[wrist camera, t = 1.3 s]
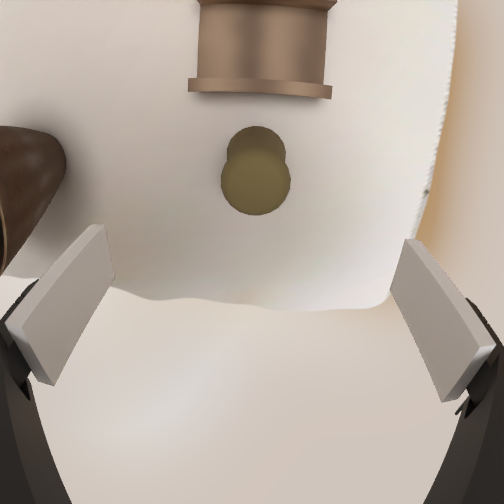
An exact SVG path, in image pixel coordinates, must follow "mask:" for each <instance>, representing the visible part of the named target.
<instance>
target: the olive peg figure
mask: <svg viewBox="0 0 504 504" xmlns="http://www.w3.org/2000/svg"><path fill="white" fill-rule="evenodd" d="M285 155H286V151H285V147H284V143H283V142H282V140H281V139H280V137H279V136H278V135H277V134H276V133H275V132H273V131H272V130H270V129H267V128H265V127H260V126H252V127H248V128H244V129H242V130H241V131H239V132H238V133H236V134H235V135H234V137H233V138H232V139H231V140H230V143H229V146H228V148H227V163H226V164H225V166H224V169H223V171H222V174H221V188H222V191H223V194H224V197H225V198H226V200H227V201H228V202H229V204H230V205H231V206H232V207H233V208H235V209H236V210H238V211H239V212H242V213H245V214H248V215H263V214H267V213H270V212H272V211H273V210H275V209H277V208H278V207H279V206H280V205H281V204H282V203H283V202H284V201H285V199H286V197H287V194H288V192H289V190H290V181H291V178H290V174H289V170H288V167H287V165H286V164H285Z"/></svg>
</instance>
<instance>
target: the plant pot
mask: <svg viewBox="0 0 504 504" xmlns="http://www.w3.org/2000/svg"><path fill="white" fill-rule="evenodd" d="M65 167H66V162H65V155H64V152H63V149H62V147H61V145H60V144H59V142H58V141H57V140H56V139H55V138H54V137H52V136H51V135H48V134H46V133H42V132H39V131H35V130H31V129H26V128H20V127H12V126H0V276H1V275H2V273H3V272H4V270H5V269H6V268H7V266H8V265H9V263H10V262H11V261H12V259H13V258H14V256H15V255H16V254H17V252H18V251H19V250H20V248H21V247H22V245H23V244H24V243H25V241H26V240H27V238H28V237H29V235H30V234H31V232H32V231H33V229H34V228H35V226H36V225H37V223H38V222H39V220H40V219H41V217H42V215H43V214H44V212H45V210H46V209H47V207H48V205H49V204H50V202H51V200H52V198H53V197H54V195H55V193H56V191H57V189H58V187H59V185H60V183H61V181H62V179H63V176H64V173H65Z"/></svg>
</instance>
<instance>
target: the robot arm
mask: <svg viewBox="0 0 504 504" xmlns="http://www.w3.org/2000/svg"><path fill="white" fill-rule="evenodd" d="M114 278H115V274H114V269H113V265H112V260H111V255H110V250H109V245H108V240H107V234H106V228H105V225H91V224H90V225H89V226H88V227H87V228H86V229H85V230H84V231H83V232H82V234H81V235H80V236H79V237H78V238H77V239H76V240H75V241H74V242H73V243H72V244H71V245H70V246H69V247H68V248H67V249H66V250H65V251H64V252H63V254H62V255H61V256H60V257H59V258H58V259H57V260H56V261H55V262H54V263H53V265H52V266H51V267H50V268H49V269H48V270H47V271H46V273H45V274H44V275H43V276H42V277H41V278H40V279H37V280H36V281H35V282H33V283H32V284H30V285H29V286H28V287H27V288H26V289H25V290H24V291H23V292H22V294H21V296H20V297H18V299H17V300H16V301H15V303H13V305H12V306H11V307H10V308H9V310H8V311H7V312H6V314H5V315H4V316H3V317H2V319H1V320H0V504H72V503H71V501H70V498H69V496H68V494H67V492H66V490H65V487H64V485H63V483H62V481H61V478H60V475H59V473H58V470H57V468H56V465H55V463H54V460H53V457H52V455H51V452H50V449H49V446H48V443H47V440H46V437H45V434H44V431H43V428H42V425H41V421H40V417H39V414H38V411H37V407H36V403H35V399H34V395H33V391H32V386H31V383H30V381H29V379H28V378H27V377H28V375H29V373H30V372H31V371H32V373H33V374H34V376H35V377H36V379H37V380H38V381H39V382H42V383H45V384H49V385H52V386H55V384H56V382H57V379H58V378H59V376H60V374H61V372H62V370H63V367H64V366H65V364H66V362H67V360H68V358H69V356H70V354H71V352H72V350H73V349H74V347H75V345H76V343H77V341H78V340H79V338H80V336H81V333H82V332H83V330H84V329H85V327H86V325H87V323H88V322H89V320H90V318H91V316H92V315H93V313H94V311H95V310H96V308H97V306H98V305H99V303H100V301H101V299H102V298H103V296H104V294H105V293H106V291H107V290H108V288H109V286H110V285H111V283H112V282H113V280H114ZM390 291H391V293H392V295H393V297H394V299H395V301H396V303H397V305H398V307H399V309H400V311H401V313H402V315H403V317H404V319H405V321H406V323H407V325H408V327H409V329H410V331H411V333H412V335H413V337H414V340H415V342H416V344H417V346H418V348H419V351H420V353H421V355H422V357H423V359H424V362H425V364H426V366H427V369H428V371H429V373H430V376H431V378H432V380H433V383H434V385H435V387H436V390H437V392H438V395H439V397H440V400H441V402H447V401H451V400H456V399H458V398H459V397H460V396H461V394H462V393H463V392H464V390H465V389H467V391H468V393H469V396H468V397H467V399H466V400H465V401H464V402H463V404H462V405H461V406H460V407H459V408H458V410H457V411H456V413H455V415H457V414H458V413H459V412H460V411H461V410H462V412H461V415H460V418H459V421H458V424H457V427H456V430H455V433H454V436H453V438H452V441H451V443H450V446H449V449H448V451H447V454H446V456H445V458H444V461H443V463H442V466H441V468H440V470H439V472H438V474H437V477H436V479H435V481H434V483H433V485H432V487H431V489H430V491H429V493H428V495H427V497H426V499H425V501H424V503H423V504H504V346H503V345H502V343H501V342H500V340H499V338H498V337H497V335H496V334H495V332H494V331H493V329H492V328H491V327H490V325H489V324H487V320H486V319H485V317H483V316H482V313H481V312H480V310H479V309H478V308H477V306H476V305H475V304H474V303H472V302H471V301H470V300H469V299H468V298H465V297H464V296H463V295H462V293H461V292H460V291H459V289H458V288H457V287H456V285H455V284H454V283H453V282H452V280H451V279H450V277H449V276H448V275H447V274H446V272H445V271H444V270H443V269H442V267H441V266H440V265H439V263H438V262H437V261H436V260H435V258H434V257H433V256H432V255H431V254H430V252H429V251H428V250H427V249H426V247H425V246H424V245H423V244H422V243H421V242H420V240H413V239H405V241H404V245H403V248H402V252H401V255H400V259H399V262H398V265H397V269H396V272H395V275H394V278H393V281H392V284H391V287H390Z"/></svg>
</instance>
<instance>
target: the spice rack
mask: <svg viewBox="0 0 504 504" xmlns="http://www.w3.org/2000/svg"><path fill="white" fill-rule="evenodd" d="M198 2H199V3H200V4H201V8H200V24H199V44H198V68H197V78H188V92H197V91H230V92H259V93H275V94H288V95H299V96H309V97H317V98H325V99H331V96H332V86H329V85H323V80H324V66H325V50H326V32H327V11H328V10H330V9H331V8H332V7H333V6H334V5H335V4H336V3H337V0H198Z"/></svg>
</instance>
